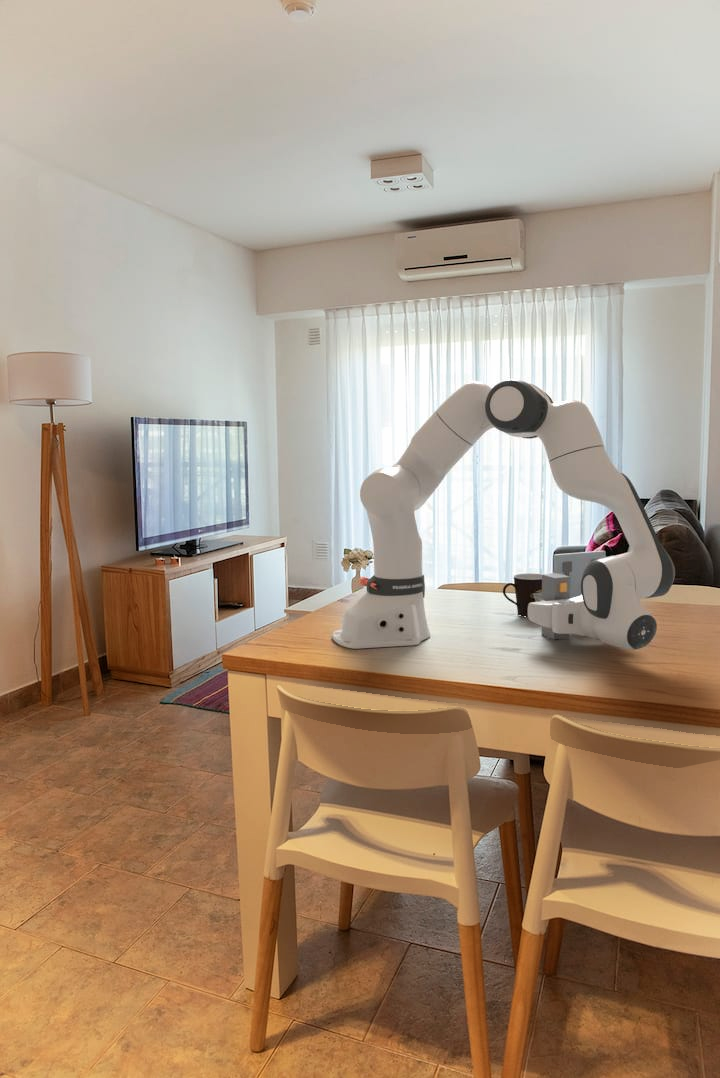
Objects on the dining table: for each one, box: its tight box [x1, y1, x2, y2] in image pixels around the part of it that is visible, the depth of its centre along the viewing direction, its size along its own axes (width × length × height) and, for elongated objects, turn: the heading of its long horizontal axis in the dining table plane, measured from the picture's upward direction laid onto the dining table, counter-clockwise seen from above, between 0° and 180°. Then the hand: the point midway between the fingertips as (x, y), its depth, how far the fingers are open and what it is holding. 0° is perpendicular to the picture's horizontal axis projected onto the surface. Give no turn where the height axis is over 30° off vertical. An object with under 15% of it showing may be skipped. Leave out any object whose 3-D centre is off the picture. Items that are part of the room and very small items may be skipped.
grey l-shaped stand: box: [552, 550, 607, 598], centre depth 176 cm, size 14×10×17 cm
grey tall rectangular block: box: [541, 573, 570, 641], centre depth 167 cm, size 4×6×14 cm
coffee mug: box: [502, 573, 543, 617], centre depth 189 cm, size 12×9×10 cm
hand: (553, 602), depth 168 cm, fingers open, 4 cm apart
